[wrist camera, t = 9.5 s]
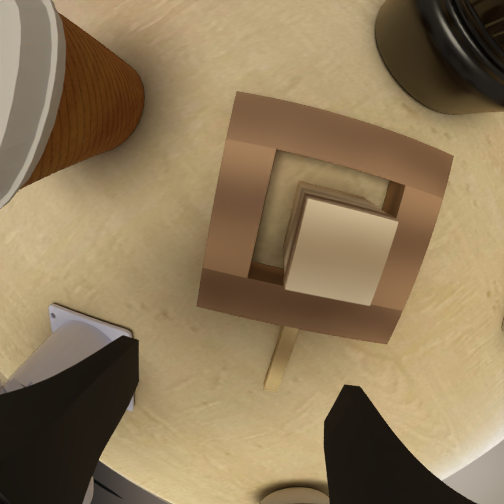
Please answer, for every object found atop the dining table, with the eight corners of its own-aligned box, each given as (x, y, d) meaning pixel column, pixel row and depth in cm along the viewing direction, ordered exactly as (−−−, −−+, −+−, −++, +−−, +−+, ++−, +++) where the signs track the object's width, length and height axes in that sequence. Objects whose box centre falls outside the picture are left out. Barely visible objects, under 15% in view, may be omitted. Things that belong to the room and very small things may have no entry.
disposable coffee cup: (134, 12, 15) (14, -65, 3) (195, 127, 17) (72, 116, 6) (34, 94, 17) (-99, 96, 6) (81, 202, 19) (-56, 267, 8)
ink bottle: (509, 77, 14) (633, 66, 2) (445, 147, 16) (594, 172, 5) (419, -30, 12) (503, -115, 1) (338, 27, 14) (405, -94, 3)
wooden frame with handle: (342, 394, 23) (347, 416, 20) (193, 366, 23) (185, 388, 21) (434, 153, 16) (453, 155, 14) (242, 98, 16) (236, 91, 14)
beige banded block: (346, 260, 19) (370, 307, 14) (282, 246, 19) (283, 290, 14) (364, 196, 18) (399, 220, 12) (297, 180, 18) (306, 197, 12)
